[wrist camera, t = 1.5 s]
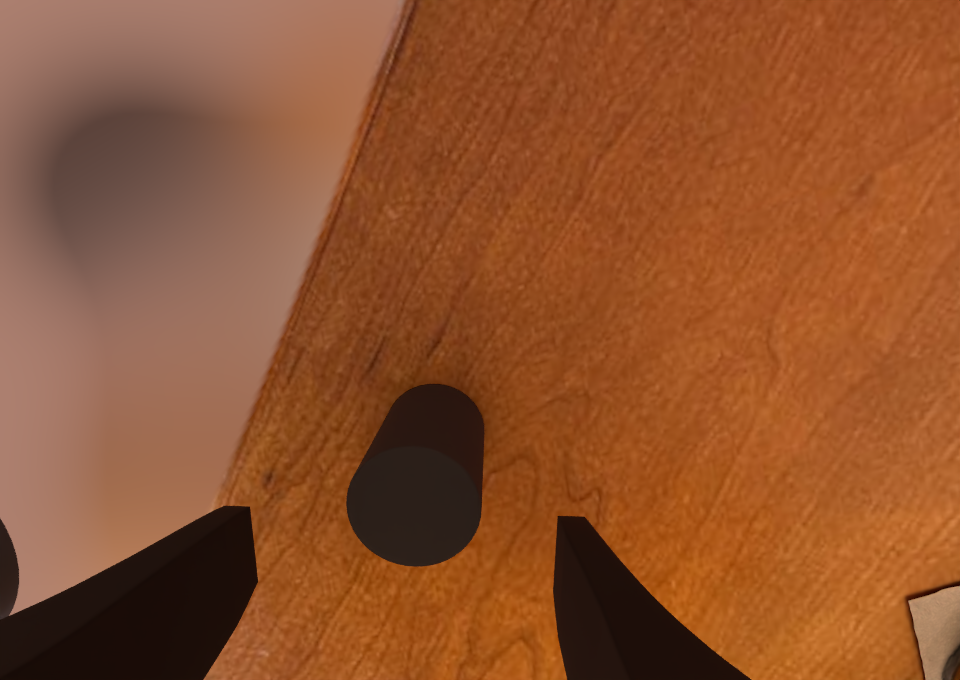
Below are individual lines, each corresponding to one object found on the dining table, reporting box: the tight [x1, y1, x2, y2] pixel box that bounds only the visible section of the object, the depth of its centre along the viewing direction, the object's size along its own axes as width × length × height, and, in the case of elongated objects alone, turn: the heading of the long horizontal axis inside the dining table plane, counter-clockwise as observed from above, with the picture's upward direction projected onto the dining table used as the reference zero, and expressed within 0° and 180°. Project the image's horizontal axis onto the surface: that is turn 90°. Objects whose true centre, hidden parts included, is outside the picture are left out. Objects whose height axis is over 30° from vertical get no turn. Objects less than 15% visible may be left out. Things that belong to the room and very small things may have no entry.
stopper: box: [347, 384, 484, 566], centre depth 15 cm, size 4×4×5 cm
